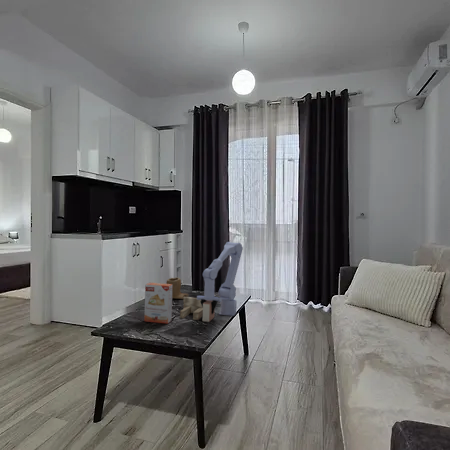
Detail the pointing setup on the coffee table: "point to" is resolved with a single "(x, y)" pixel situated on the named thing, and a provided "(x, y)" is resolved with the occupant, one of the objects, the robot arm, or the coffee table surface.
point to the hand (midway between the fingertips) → (208, 313)
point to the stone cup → (176, 288)
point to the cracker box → (158, 303)
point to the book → (207, 311)
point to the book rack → (192, 308)
